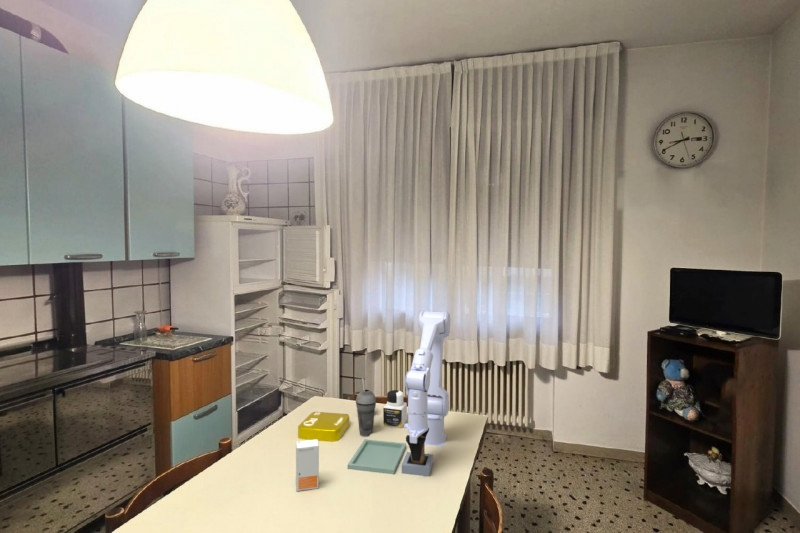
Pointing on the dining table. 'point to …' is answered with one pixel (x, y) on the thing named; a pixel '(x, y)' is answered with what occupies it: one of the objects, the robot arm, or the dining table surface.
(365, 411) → the beverage cup
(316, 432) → the element tile
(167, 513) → the dining table surface
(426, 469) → the grey square recessed block
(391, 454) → the tray
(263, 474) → the dining table surface
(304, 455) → the skincare box
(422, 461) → the dowel
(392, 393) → the medicine bottle
